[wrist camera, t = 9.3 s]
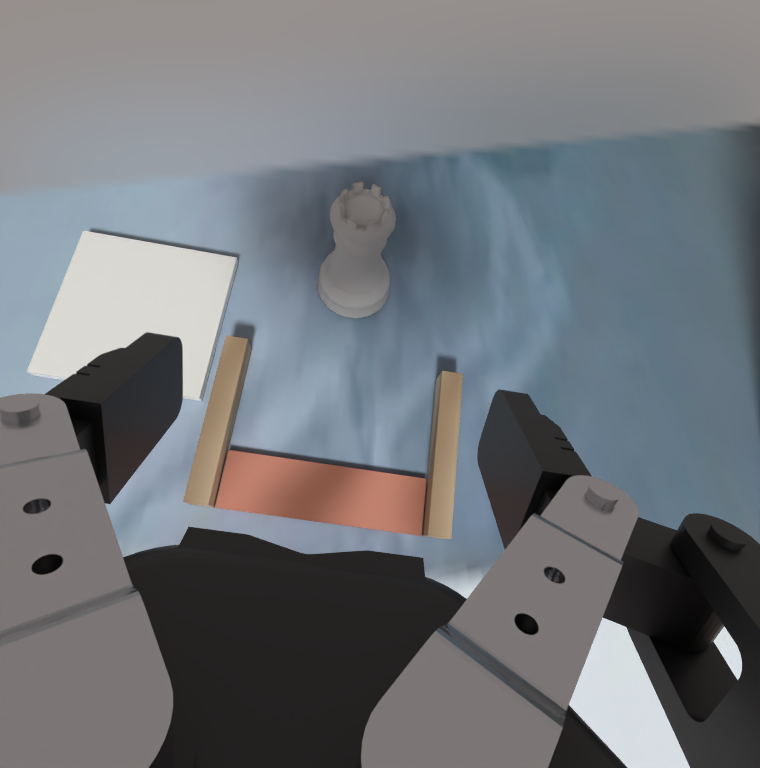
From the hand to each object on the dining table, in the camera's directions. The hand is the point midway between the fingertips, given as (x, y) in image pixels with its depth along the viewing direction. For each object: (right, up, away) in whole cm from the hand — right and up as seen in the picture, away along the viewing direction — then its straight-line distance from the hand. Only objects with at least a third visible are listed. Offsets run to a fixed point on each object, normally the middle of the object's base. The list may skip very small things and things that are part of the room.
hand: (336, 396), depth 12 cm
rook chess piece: (-1, +6, +18) cm, 19 cm away
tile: (-13, +4, +15) cm, 20 cm away
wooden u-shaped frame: (-2, -3, +14) cm, 15 cm away
